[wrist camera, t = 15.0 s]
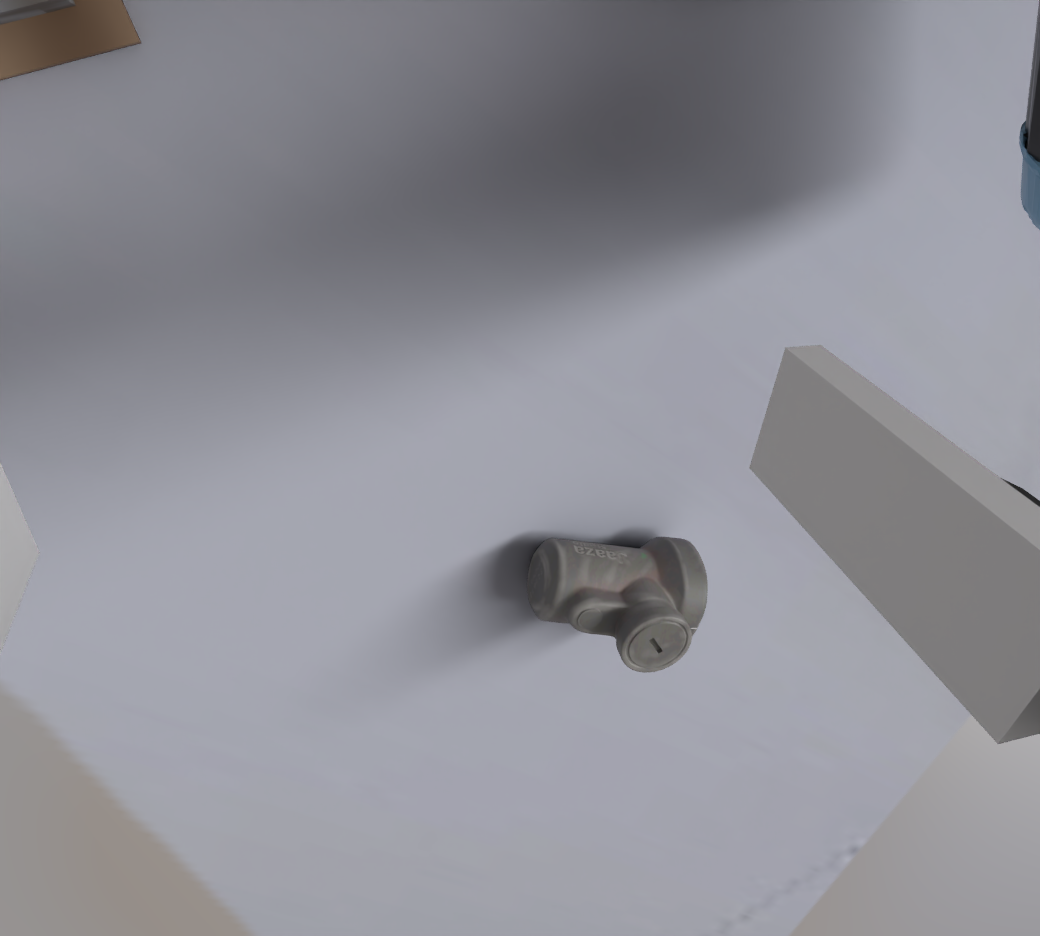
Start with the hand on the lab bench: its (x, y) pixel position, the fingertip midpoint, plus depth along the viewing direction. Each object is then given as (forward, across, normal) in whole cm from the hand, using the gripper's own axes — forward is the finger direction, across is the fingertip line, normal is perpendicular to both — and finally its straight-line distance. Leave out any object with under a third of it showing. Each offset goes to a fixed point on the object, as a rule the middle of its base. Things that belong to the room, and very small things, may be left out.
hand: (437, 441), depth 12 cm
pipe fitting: (+28, +17, -31) cm, 45 cm away
